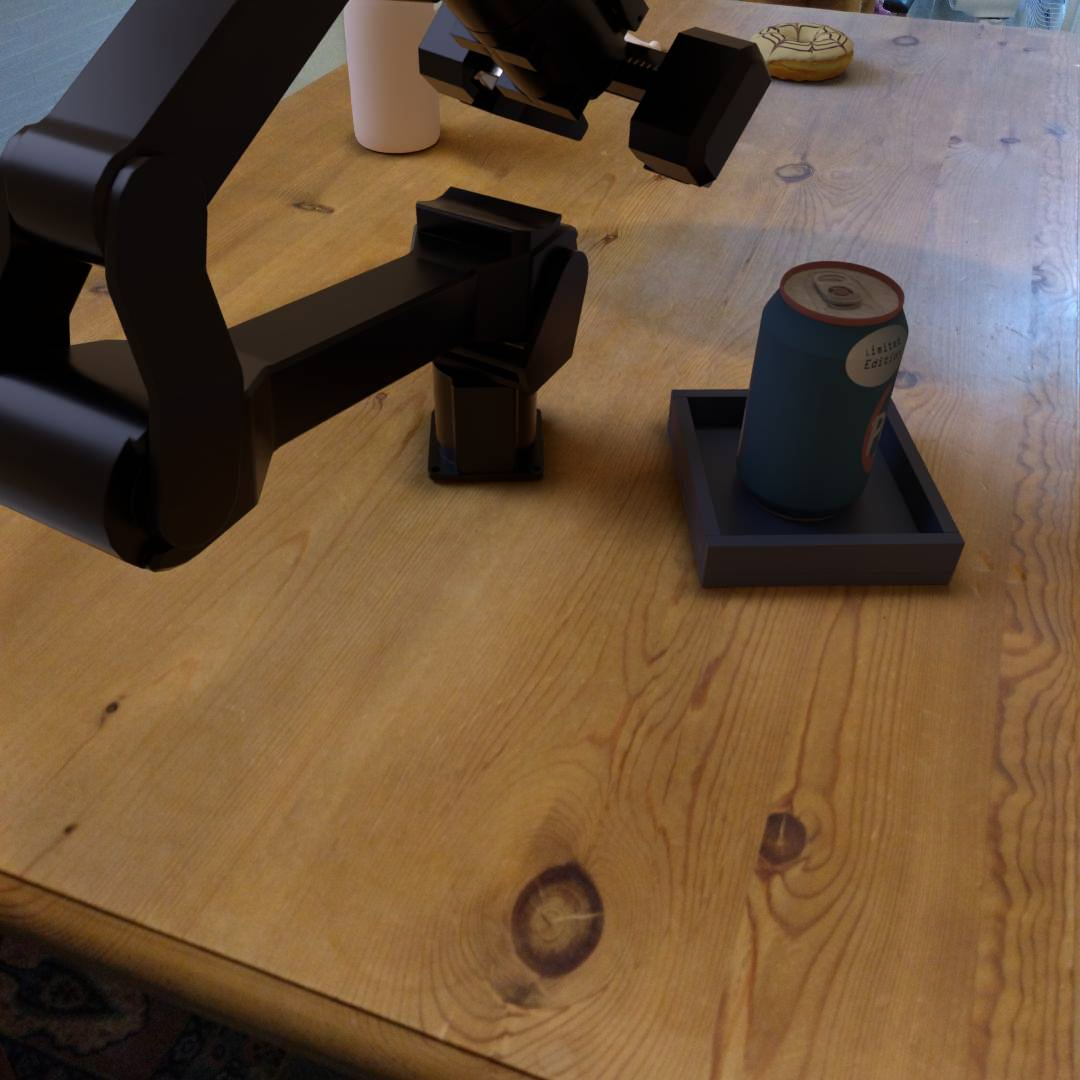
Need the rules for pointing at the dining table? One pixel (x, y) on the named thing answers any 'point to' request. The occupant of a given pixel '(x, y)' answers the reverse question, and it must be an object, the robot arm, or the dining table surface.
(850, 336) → the soda can
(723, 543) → the tray
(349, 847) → the dining table surface
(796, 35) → the decorated donut
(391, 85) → the milk bottle
